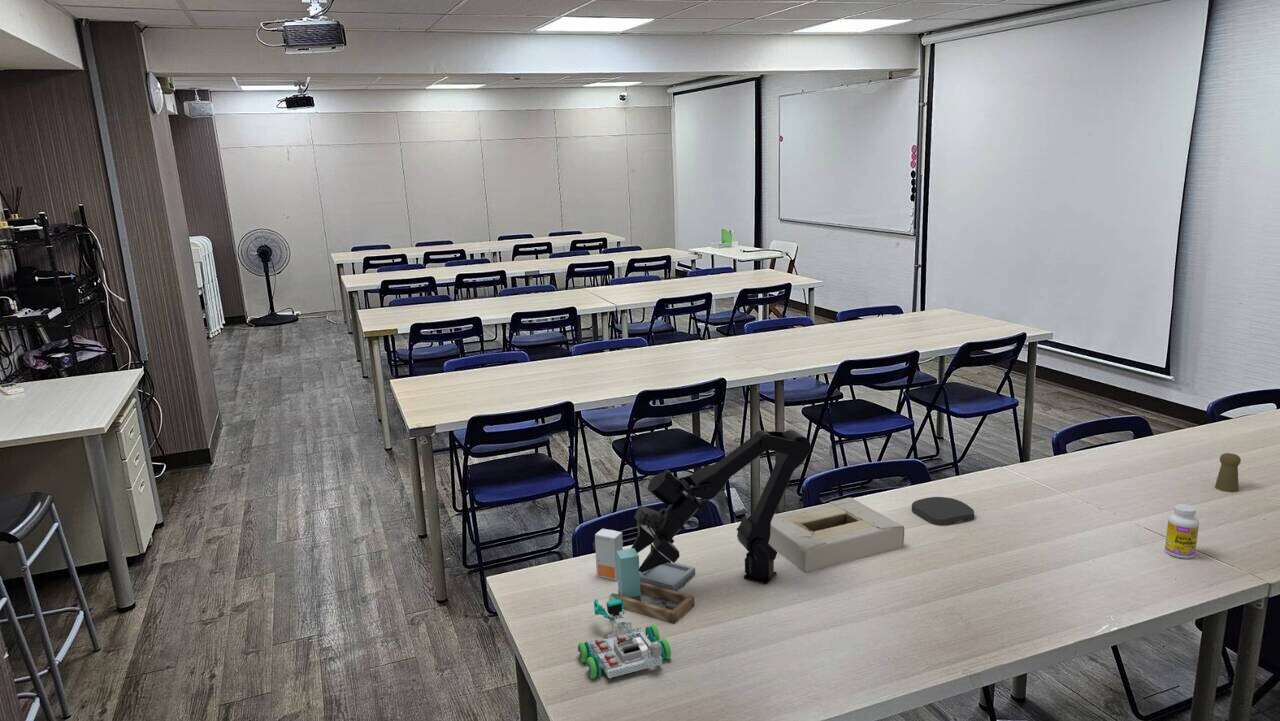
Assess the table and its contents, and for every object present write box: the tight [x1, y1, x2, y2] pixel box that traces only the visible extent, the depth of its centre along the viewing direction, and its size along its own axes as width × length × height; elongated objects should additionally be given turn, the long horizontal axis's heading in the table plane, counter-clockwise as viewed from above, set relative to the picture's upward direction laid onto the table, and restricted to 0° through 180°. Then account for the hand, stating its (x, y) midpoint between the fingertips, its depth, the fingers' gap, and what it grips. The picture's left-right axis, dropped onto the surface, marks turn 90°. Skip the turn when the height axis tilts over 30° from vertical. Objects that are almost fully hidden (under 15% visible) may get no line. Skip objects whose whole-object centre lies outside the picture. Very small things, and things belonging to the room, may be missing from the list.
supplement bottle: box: [1164, 503, 1200, 560], centre depth 215 cm, size 7×7×13 cm
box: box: [769, 497, 905, 573], centre depth 230 cm, size 23×8×32 cm
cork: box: [1214, 452, 1241, 493], centre depth 256 cm, size 6×6×11 cm
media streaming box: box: [911, 496, 975, 526], centre depth 247 cm, size 15×15×3 cm
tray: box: [640, 561, 696, 592], centre depth 214 cm, size 11×11×2 cm
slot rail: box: [610, 581, 695, 625], centre depth 202 cm, size 18×9×2 cm, turn 57°
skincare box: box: [594, 528, 624, 582], centre depth 216 cm, size 6×4×12 cm
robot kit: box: [577, 594, 672, 680], centre depth 183 cm, size 19×25×9 cm
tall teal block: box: [616, 547, 642, 601], centre depth 204 cm, size 5×5×12 cm
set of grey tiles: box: [647, 597, 680, 610], centre depth 199 cm, size 9×7×1 cm
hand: (634, 563), depth 204 cm, fingers open, 9 cm apart
